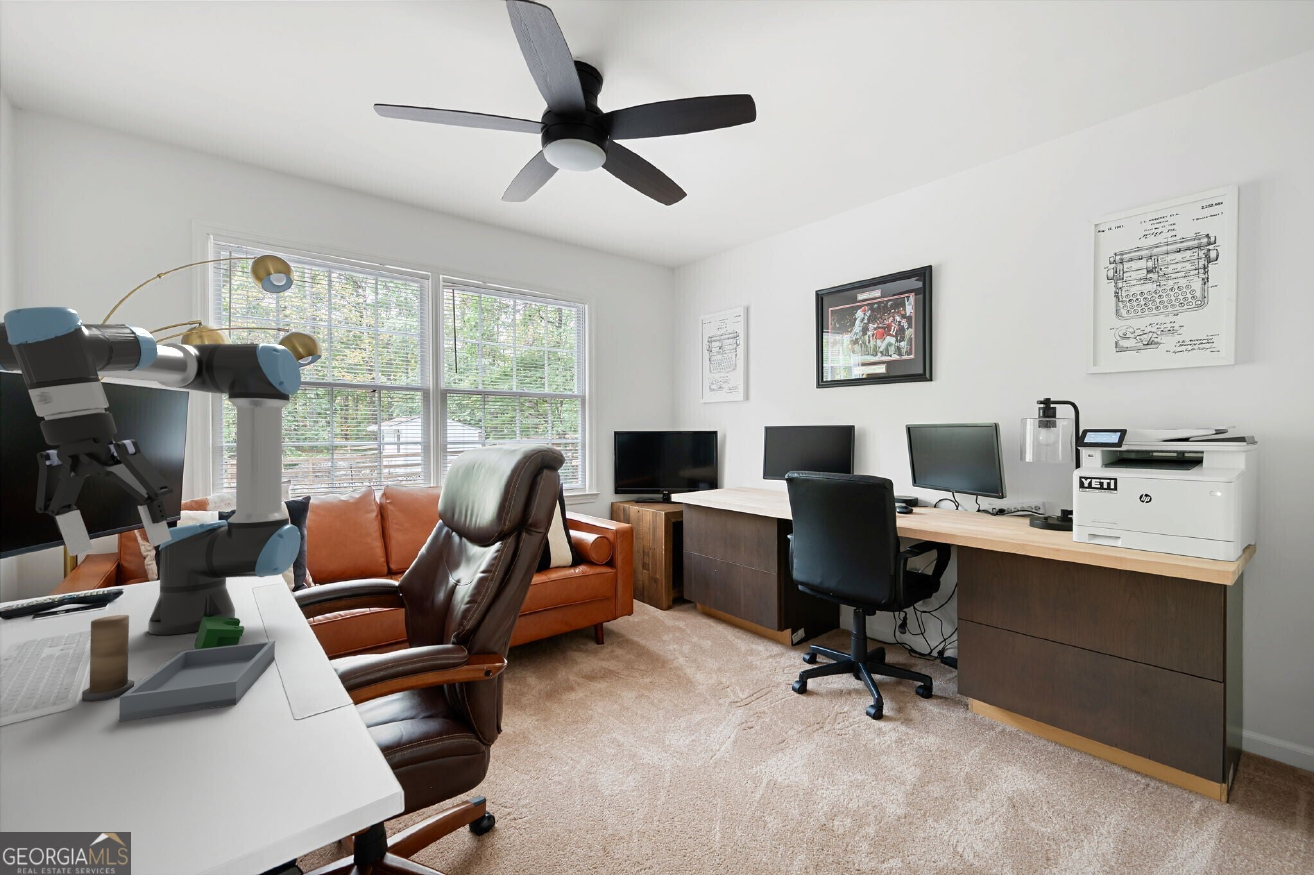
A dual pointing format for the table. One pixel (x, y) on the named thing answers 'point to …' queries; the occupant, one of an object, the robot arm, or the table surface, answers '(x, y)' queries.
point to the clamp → (218, 632)
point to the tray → (198, 681)
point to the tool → (108, 659)
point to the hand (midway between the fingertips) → (121, 547)
